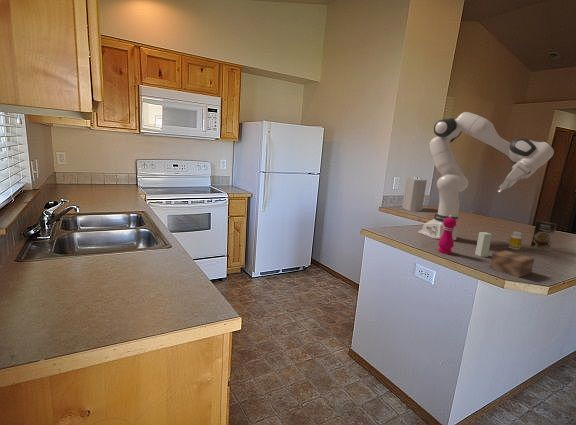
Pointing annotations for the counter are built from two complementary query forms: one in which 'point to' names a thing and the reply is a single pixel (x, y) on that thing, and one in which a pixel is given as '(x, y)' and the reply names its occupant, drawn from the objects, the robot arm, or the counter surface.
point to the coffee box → (543, 235)
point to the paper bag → (414, 194)
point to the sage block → (483, 244)
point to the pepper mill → (447, 236)
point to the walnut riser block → (512, 263)
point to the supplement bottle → (515, 240)
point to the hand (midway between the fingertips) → (499, 189)
